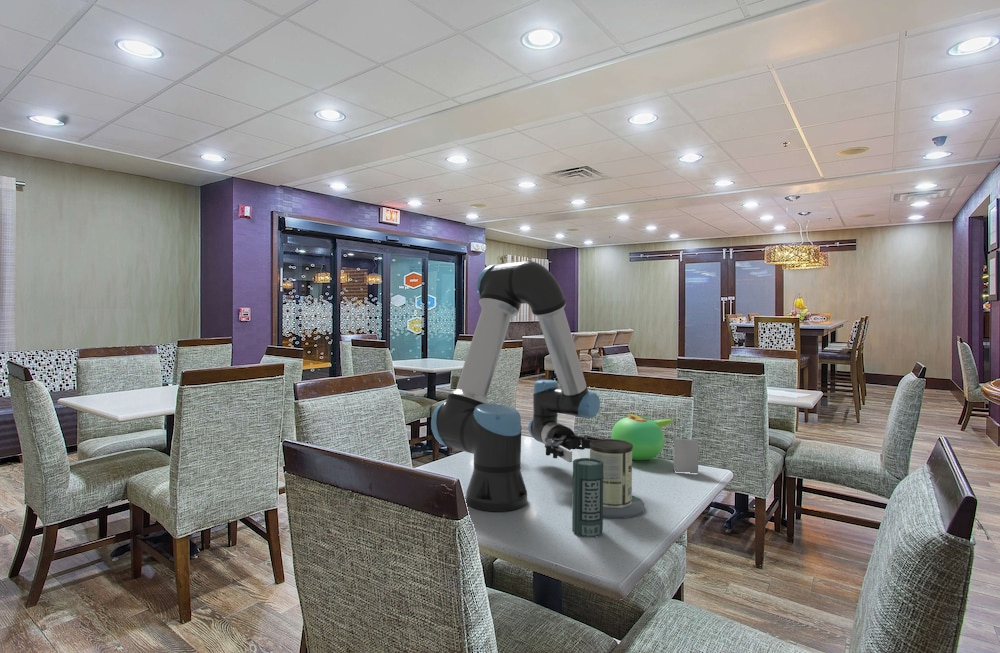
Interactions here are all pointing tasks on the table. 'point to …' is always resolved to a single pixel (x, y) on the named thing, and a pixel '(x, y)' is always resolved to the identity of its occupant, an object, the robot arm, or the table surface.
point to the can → (587, 497)
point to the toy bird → (641, 435)
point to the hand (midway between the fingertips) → (594, 454)
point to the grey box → (685, 455)
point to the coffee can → (614, 471)
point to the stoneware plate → (625, 510)
